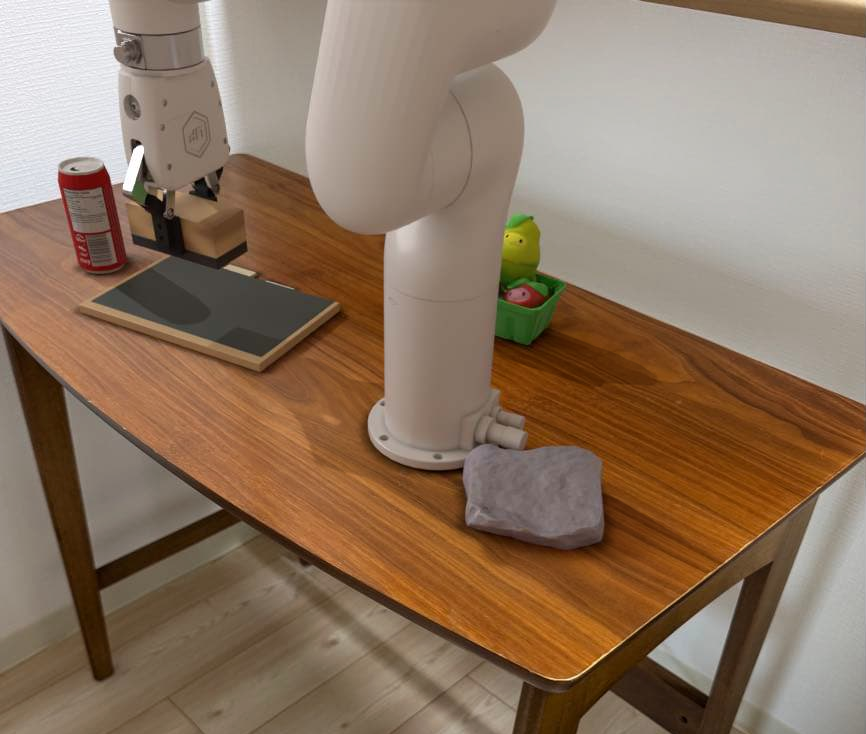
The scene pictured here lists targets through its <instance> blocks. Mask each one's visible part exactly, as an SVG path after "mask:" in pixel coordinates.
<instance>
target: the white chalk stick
mask: <svg viewBox="0 0 866 734" xmlns="http://www.w3.org/2000/svg"><path fill="white" fill-rule="evenodd" d="M265 281H266V282H270V283H273V284H277V285H280V286H284V287H287V288H290V289H294V290H296V288H293V287H290V286H286V285H283V284H279V283H277V282H273V281H269V280H265Z"/></svg>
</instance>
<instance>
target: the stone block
mask: <svg viewBox="0 0 866 734" xmlns="http://www.w3.org/2000/svg"><path fill="white" fill-rule="evenodd" d="M602 478H603V461H602V459H601V458H600V456H598V455H596V454H595V453H594V451H592V450H588V449H586V448H585V449H584V448H582V447H579V446H576V445H568V446H567V445H551V446H549V445H546V446H541V447H537V448H532V449H526V450H523V451H516V450H513V449H507V448H505V449H504V448H501V447H499V446H498V447H497V446H494V445H492V444H483V445H480V446H478V447H476V448H475V449H473V450H472V451H471V452H470V453H469V455H468V456H467V457H466V459H465V464H464V467H463V471H462V483H463V486H464V490H465V491H464V492H465V495H466V499H467V501H466V505H465V513H464V516H465V524H466V526H467V527H470V528H472V529H475V530H477V531H483V532H486V533H491V534H495V535H499V536H505V537H509V538H510V537H511V538H513V539H516V540H519V541H522V542H526V543H530V544H532V545H533V544H534V545H538V546H544V547H552V548H555V549H557V550H562V551H571V550H574V549H577V548H582V547H586V546H591V545H594V544H597V543H599V542H601V541H602V540H603V537H604V536H603V535H604V529H605V517H604V515H605V514H604V501H603V492H602Z"/></svg>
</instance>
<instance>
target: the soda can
mask: <svg viewBox="0 0 866 734" xmlns="http://www.w3.org/2000/svg"><path fill="white" fill-rule="evenodd" d="M57 170H58V171H57V183H58V188H59V193H60V196H61V200H62V205H63V207H64V213H65V216H66V220H67V223H68V228H69V232H70V236H71V240H72V244H73V248H74V252H75V257H76V260H77V264H78V266H79V267H80V268H81V269H83V270H84V271H86V272H87V273H90V274H94V275H102V274H104V275H105V274H111V273H114V272H117V271H119V270H120V269H122V268H123V267H124V266H125V264H126V262H127V261H128V257H127V251H126V246H125V241H124V237H123V232H122V227H121V224H120V217H119V213H118V208H117V204H116V199H115V194H114V189H113V185H112V179H111V176H110V173H109V171H108V170H107V167H106V165H105V162H104V160H103V159H101V158H98V157H94V156H77V157H71V158H66V159H63V160H62V161H60V162H59V163H58V164H57Z"/></svg>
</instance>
